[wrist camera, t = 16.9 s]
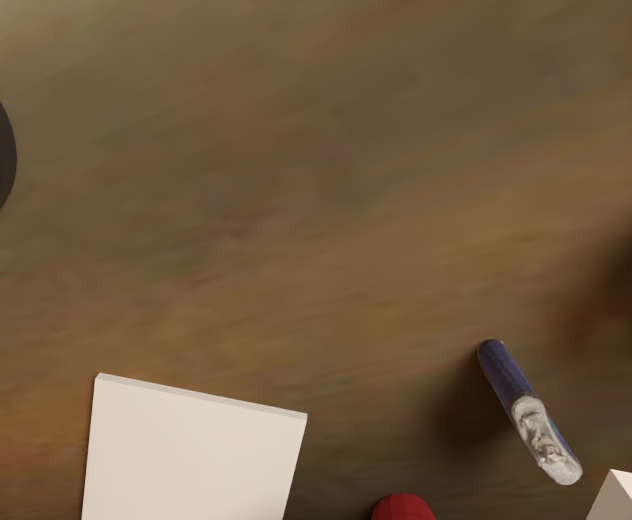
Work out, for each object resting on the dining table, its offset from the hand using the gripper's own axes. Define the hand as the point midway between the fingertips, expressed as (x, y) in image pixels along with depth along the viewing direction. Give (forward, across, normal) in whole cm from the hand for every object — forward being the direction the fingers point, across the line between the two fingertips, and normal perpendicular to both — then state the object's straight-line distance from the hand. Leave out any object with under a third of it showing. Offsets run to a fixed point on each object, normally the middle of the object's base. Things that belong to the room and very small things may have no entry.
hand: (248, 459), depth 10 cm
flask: (+35, +21, -15) cm, 43 cm away
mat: (+35, -5, -32) cm, 47 cm away
